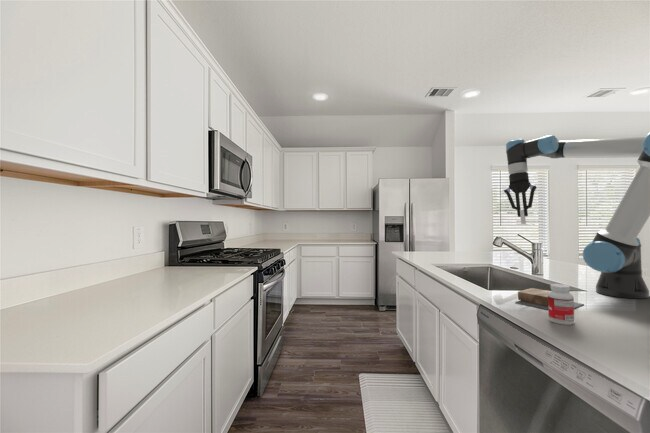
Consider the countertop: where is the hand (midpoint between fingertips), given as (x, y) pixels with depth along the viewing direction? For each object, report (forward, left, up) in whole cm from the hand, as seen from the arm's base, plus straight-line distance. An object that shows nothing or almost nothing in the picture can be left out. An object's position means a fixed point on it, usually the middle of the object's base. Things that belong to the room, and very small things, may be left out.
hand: (523, 223), depth 137 cm
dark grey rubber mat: (-12, +27, -29) cm, 41 cm away
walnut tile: (-5, +25, -26) cm, 37 cm away
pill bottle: (-18, +47, -29) cm, 58 cm away
